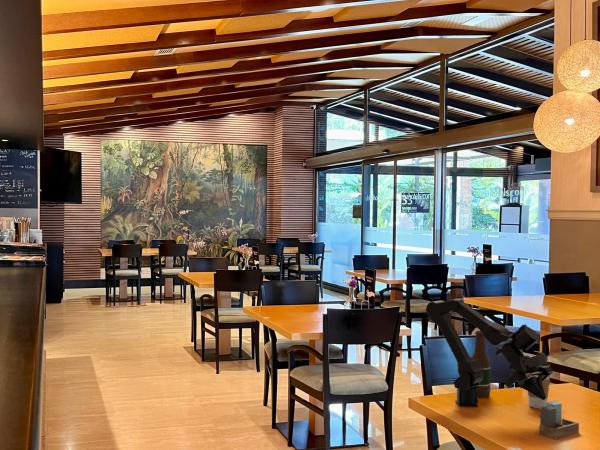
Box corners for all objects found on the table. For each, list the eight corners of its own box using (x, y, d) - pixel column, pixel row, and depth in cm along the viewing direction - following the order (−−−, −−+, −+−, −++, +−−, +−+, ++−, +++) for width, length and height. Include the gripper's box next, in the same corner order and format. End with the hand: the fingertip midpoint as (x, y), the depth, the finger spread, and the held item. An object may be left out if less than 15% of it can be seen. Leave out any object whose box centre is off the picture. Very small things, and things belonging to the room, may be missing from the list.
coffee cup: (552, 410, 230) (553, 366, 230) (526, 408, 232) (527, 365, 231) (548, 403, 238) (549, 361, 238) (523, 402, 240) (524, 360, 240)
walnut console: (539, 434, 204) (539, 424, 204) (562, 428, 210) (563, 418, 210) (555, 439, 199) (555, 429, 199) (578, 432, 206) (578, 423, 206)
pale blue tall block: (546, 427, 210) (546, 402, 210) (552, 425, 212) (553, 400, 212) (554, 430, 208) (554, 404, 208) (561, 428, 210) (561, 403, 210)
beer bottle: (478, 399, 242) (479, 333, 242) (464, 394, 249) (465, 330, 249) (494, 397, 246) (495, 332, 246) (479, 392, 253) (481, 329, 252)
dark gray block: (540, 433, 204) (540, 407, 204) (547, 431, 206) (547, 405, 206) (548, 436, 202) (549, 409, 202) (555, 434, 204) (556, 408, 204)
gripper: (512, 347, 212) (542, 389, 203) (548, 341, 222) (578, 381, 213) (492, 367, 218) (520, 409, 209) (528, 361, 229) (556, 400, 220)
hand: (544, 399), depth 213 cm, fingers closed
